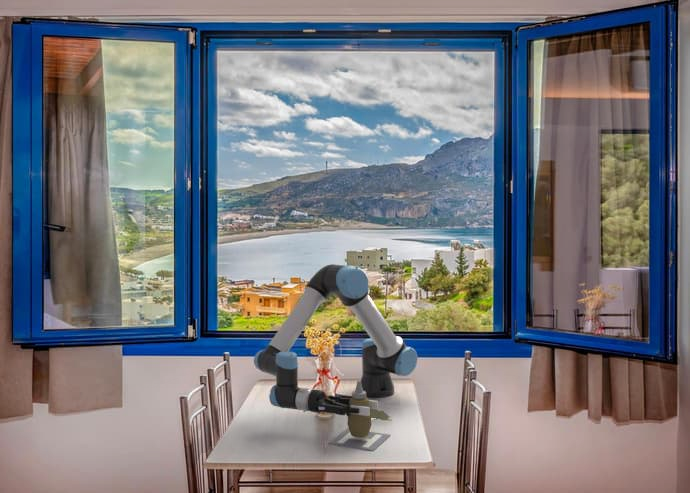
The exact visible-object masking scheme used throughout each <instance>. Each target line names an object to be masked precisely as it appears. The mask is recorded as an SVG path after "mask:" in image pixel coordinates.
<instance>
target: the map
mask: <svg viewBox="0 0 690 493" xmlns="http://www.w3.org/2000/svg"><path fill="white" fill-rule="evenodd" d="M370 413H371V418H376V419H375V420H381V421H389V422H390V421H392V419H389V418H391V416H389V414H387V413H386V412H385V411H384V410H379V409H378V410H375V409H370Z"/></svg>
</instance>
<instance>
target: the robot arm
mask: <svg viewBox="0 0 690 493" xmlns="http://www.w3.org/2000/svg"><path fill="white" fill-rule="evenodd" d="M369 283H370V281H369V276H368V275H367V273H366V272H365V271H364V270H363V269H362V268H360V267H357V266H354V265H342V264H333V263H332V264H328V265H325V266H323V267H322V268H320V269H319V270H318V271H317V272H315V274H313V276H312V277H311V278H310V279H309V281H308V282H307V284H306V285H305V286H304V288H303V289H304V292H303V294H302V295H301V297H300V299H299V300H298V301H297V303H296V304H295V306H294V307H293V309H292V310H291V312H290V313H289V315H288V316H287V317H286V319H285V320H284V322H283V323H282V324H281V326H280V327H279V329H278V331H276V333H275V335H274V336H273V337H272V339H271V341H270V342H269V343H268V345H267V346H266V348H265V349H262V350H259V351H258V352H256V354H254V357H253V364H254V366H255V368H256V369H258V370H259V371H261V372H262V373H266V374H268V375H272V376H274V377H275V380H276V381H275V382H276V383H275V384H274V385H273V386H272V387H271V389H270V391H269V392H270V393H269V394H268V399H269V402H270V404H271V405H272V406H274V407H276V408H281V409H289V410H290V409H291V410H298V411H302V412H303V413H306V412H311V413H316V414H317V413H318V414H320V413H329V414H333V415H339V416H346V417H348V416H350V413H351V414H356V415H364V416H370V409H375V410H378V411H379V401H378V400H372V399H369V404H370V407H364V406H355V405H351V406H349V400H350V399H351V398H353V397H352V395H346V394H340V393H335V394H334V395H332V394H331V395H326V392H325V391H323V390H321V389H312V388H308V387H307V388H306V387H300V386H299V383H298V382H299V381H298V380H299V378H298V376H299V373H298V372H299V369H298V368H299V362H298V355H297V353H296V352H294V351H290V350H291V348H292V347H293V346H294V344H295V342H296V341H297V339H298V338H299V336H300V335H301V334H302V331H303V330H304V329H305V327H306V326H307V324H308V323H309V321H310V320H311V319H312V317H313V315H315V313H316V312H317V309H319V306H320V305H321V304H322V303H325V302H326V301H327V299H328V298H329V297H330V296H336V297H338V299H339V301H340V302H341V303H342V305H343V306H344V307H348V308H350V310H351V311H352V312H353V314H354V316H355V317H356V319H357V320H358V321H359V323H360V325H361V326H362V328H363V329H364V330H365V332H366V334H368V336H369V337H370V338H366V339H363V340H362V344H361V359H362V360H361V362H362V363H361V364H362V366H361V367H362V370H361V371H362V373H361V374H362V375H361V378H360V381H361V385H362V389H363V391H365V392H366V398H386V397H390V396H392V395H394V394H395V385H394V382H393V380H392V376H391V374H394V375H397V376H400V377H408V376H410V375H412V373H413V372H414V371H415V369H416V367H417V366H418V354H417V351H416V350H415V349H414V348H413V347H411V346H407V345H406V343H405V342H404V340H403V338H402V337H401V336H398V335H395V333H394V332H393V331H392V329H391V327H390V326H389V324H388V322H387V321H386V319H385V318H384V316H383V314H382V313H381V312H380V310H379V309H378V307H377V306H376V303H374V301H373V299H372V298H371V296H370V295H369V294H370V284H369Z"/></svg>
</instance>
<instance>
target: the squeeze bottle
mask: <svg viewBox="0 0 690 493" xmlns="http://www.w3.org/2000/svg"><path fill="white" fill-rule="evenodd" d="M351 396H352V397H353V398H351V399H350V400H349V406H351V405H355V406H364V407H370V404H369V400H370V399H369V397H367V396H366V392H365V391H363V389H362V385H361V380H357V381H356V386H355V390H354V391H352V392H351ZM346 423H347V424H346V425H347V427H348V428H349V430H350V433H351V436H353V437H366V436H368V434H369V432H371V431H370V430H371V428H372V427H371V426H372V425H373V424H372V420H371V413H370V416H364V415H356V414H351V413H350V416H347V422H346Z"/></svg>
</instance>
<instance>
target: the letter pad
mask: <svg viewBox="0 0 690 493" xmlns="http://www.w3.org/2000/svg"><path fill="white" fill-rule="evenodd" d="M390 437H391V434H390V433H388V434H387V433H382V432H375V431H369V434H368V436H366V437H353V436H351V433H350V430H349V427H348V428H346V429H345V430H343V431H342V432H341V433H339V434H338V435H337V436H336V437H334V438H333V439H332V440H330V441H329V442H328V445H334V446H338V447H339V446H340V447H345V448H350V449H351V448H352V449H357V450H364V451H369V452H375V450H377V448H379V447H380V446H381V445H382V444H383V443H384V442H385V441H387V439H389V438H390Z"/></svg>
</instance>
